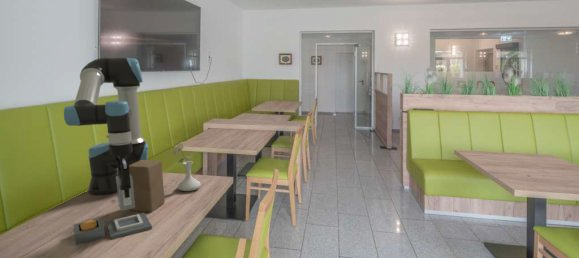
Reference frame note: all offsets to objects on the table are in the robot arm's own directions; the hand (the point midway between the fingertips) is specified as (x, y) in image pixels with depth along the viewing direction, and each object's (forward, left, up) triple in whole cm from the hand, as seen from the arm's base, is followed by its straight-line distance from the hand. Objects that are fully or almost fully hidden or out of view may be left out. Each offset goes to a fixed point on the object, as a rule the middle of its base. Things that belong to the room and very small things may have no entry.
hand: (126, 202), depth 126 cm
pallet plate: (0, 0, -10) cm, 10 cm away
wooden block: (-15, +10, -10) cm, 21 cm away
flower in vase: (-26, +31, -10) cm, 42 cm away
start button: (0, -13, -8) cm, 15 cm away
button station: (0, -13, -10) cm, 16 cm away
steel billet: (0, 0, -2) cm, 2 cm away
